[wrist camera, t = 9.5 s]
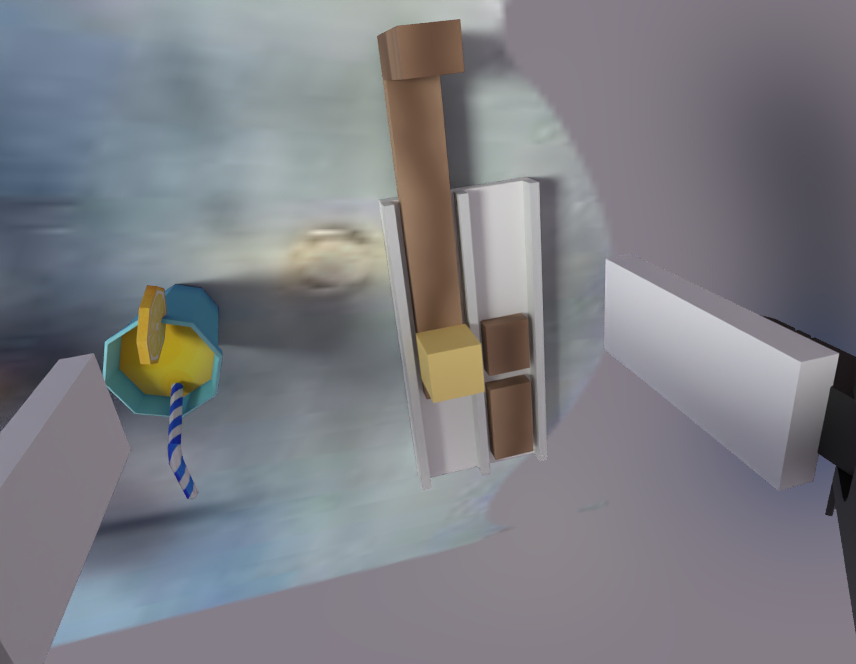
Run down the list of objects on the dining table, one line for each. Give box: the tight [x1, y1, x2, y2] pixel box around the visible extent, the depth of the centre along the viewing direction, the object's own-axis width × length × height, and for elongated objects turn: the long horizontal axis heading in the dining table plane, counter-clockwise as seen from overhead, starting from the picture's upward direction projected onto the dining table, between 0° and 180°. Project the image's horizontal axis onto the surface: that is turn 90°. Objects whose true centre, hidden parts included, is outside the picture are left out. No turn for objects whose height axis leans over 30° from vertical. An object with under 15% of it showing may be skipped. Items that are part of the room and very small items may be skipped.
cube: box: [416, 324, 485, 403], centre depth 50 cm, size 4×4×4 cm
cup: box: [103, 284, 223, 499], centre depth 42 cm, size 14×8×15 cm, turn 8°
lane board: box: [379, 177, 547, 490], centre depth 54 cm, size 13×28×3 cm, turn 6°
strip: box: [377, 19, 464, 399], centre depth 45 cm, size 4×30×8 cm, turn 7°
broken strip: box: [480, 313, 533, 460], centre depth 56 cm, size 4×14×2 cm, turn 7°
